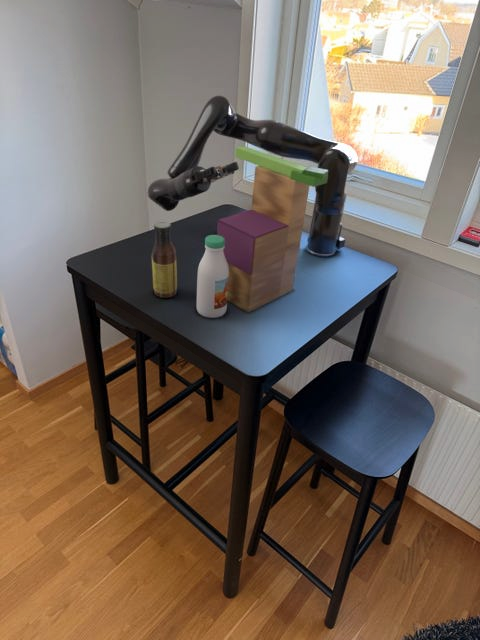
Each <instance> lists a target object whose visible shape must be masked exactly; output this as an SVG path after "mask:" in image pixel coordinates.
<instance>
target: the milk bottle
mask: <svg viewBox="0 0 480 640" xmlns="http://www.w3.org/2000/svg"><path fill="white" fill-rule="evenodd" d="M224 245H225V239H224V238H223V237H222V236H219V235H217V234H210V235H207V236H206V237H205V238H204V248H205V251H204V253H203V255H202V257H201V259H200V262H199V264H198V267H197V277H196V311H197V313H198V314H199V315H200V316H203V317H205V318H208V319H209V318H210V319H216V318H219V317H222V316H224V315H225V314H226V312H227V309H228V300H227V298H228V284H229V267H228V263H227V261H226V258H225V256H224V252H223V249H224Z"/></svg>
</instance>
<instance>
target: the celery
mask: <svg viewBox="0 0 480 640" xmlns="http://www.w3.org/2000/svg"><path fill="white" fill-rule="evenodd" d="M234 155H235V156H234V157H235V158H237V159H239V160H243V161H245V162H247V163H251V164H253V165H256V166H261V167H264V168H267V169H270V170H273V171H275V172H278V173H281V174H284V175H287V176H289V177H290V179H293V180H296V181H299V182H302V183H304V184H307V185H310V186H309V187H312V188H315V186H318V185H321V184H325V183H327V180H328V170H325V169H320V168H318V167H314V166H310V165H308V166H306V165H302V164H299V163H296V162H294V161H291V160H287V159H284V158H281V157H279V156H276V155H272V154H269V153H266V152H264V151H260V150H257V149H254V148H251V147H249V146H238V147H235V154H234Z"/></svg>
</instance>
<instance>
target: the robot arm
mask: <svg viewBox="0 0 480 640" xmlns="http://www.w3.org/2000/svg"><path fill="white" fill-rule="evenodd" d="M213 132H215V134H217V135H220V136H223V137H226V138H231V139H235V140H239V141H241V142H245V143H247V144H249V145H251V146H254V147H256V148H259V149H261V150H263V151H266V152H267V153H271V154H273V155H274V156H277V157H280V158H281V157H282V158H286V159H294V160H302V161H308V162H311V163H313V164H316V165H317V168H320V169H325V170H328V180H327V183H325V184H321V185H318V186H315V187H314V191H315V198H314V202H313V203H314V204H313V208H312V216H311V221H310V225H309V226H310V227H309V232H308V237H307V241H306V242H307V244H306V247H305V249H306V251H307V252H308V253H309V254H311V255H313V256H315V257H322V258H327V257H332V256H334V255H335V254H336V252H337V251H338V250H340V249H342V248H344V247H345V244H346V239H345V238H343V237H342V236H341V235H342V229H343V224H342V221H343V215H344V209H345V205H346V200H347V192H346V191H345V190H346V184H347V178H348V175H349V174H351V173H352V172H353V171H354V170H355V168H356V167H357V165H358V155H357V153H356V151H355V150H354V149H353V148H352V147H351V146H350V145H347V144H345V143H341V142H338V141H332V140H328V139H324V138H321V137H317V136H315V135H314V134H310V133H309V132H306V131H304V130H301V129H299V128H296V127H293V126H291V125H288V124H286V123H284V122H281V121H278V120H276V119H275V120H274V119H251V118H249V117H246V116H243V115H242V114H239V113H238V112H236V110H235V109H234V107H233V105H232V104H231V102H230V100H229V99H228V98H227V97H225V96H224V95H220V94H219V95H214V96H212V97H210V98H209V99H208V101H206V103H205V104H204V105H203V108H202V110H201V112H200V114H199V117H198V118H197V120H196V122H195V125H194V126H193V128H192V130H191V132H190V134H189V137H188V138H187V140H186V142H185V144H184V146H183V147H182V148H181V150H180V151H179V153H178V155H177V156H176V157H175V158H174V160H173V162H172V163H171V165H170V166H169V167H168V169H167V171H166V173H167V176H168V177H169V178H159V179H156V180H154V181H152V182H151V183H150V184H149V185H148V186H147V190H146V194H147V197H148V198H149V200H151V201H152V202H153V203H155V204H156V205H157V206H158V207H160V208H161V209H162V210H164V211H166V212H171V211H174V210H175V209H176V208H177V207H178V205H179V202H181V201H184V200H186V199H188V198H193V197H195V196H198V195H200V194H203V193H205V192H208V191H209V189H210V187H211V185H212V184H213V183H216V181H218V180H221V179H224V178H226V177H227V176H230V175H234V174H235V172H236V171H238V170H240V167H239V164H238V162H237V161H233V162H231V163H229V164H226V165H224V166H222V165H218V166H209V167H208V168H204V167H203V166H200V165H199V164H200V161H201V159H202V156H203V154H204V150H205V147H206V144H207V142H208V140H209V138H210V136H211V135H212V133H213Z"/></svg>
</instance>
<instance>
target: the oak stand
mask: <svg viewBox="0 0 480 640" xmlns="http://www.w3.org/2000/svg"><path fill="white" fill-rule="evenodd" d="M310 187H311V186H310V185H307V184H304V183H302V182H299V181H296V180H293V179H290V177H289V176H287V175H284V174H281V173H278V172H275V171H273V170H270V169H267V168H264V167H261V166H259V165H256V166H255V167H254V177H253V187H252V197H251V209H252V210H254V211H256V212H259V213H261V214H263V215H266V216H268V217H270V218H272V219H275V220H277V221H279V222H282V223H284V224H286V225H288V226H287V227H285V228H282V229H279V230H276V231H274V232H271V233H268V234H266V235H263V236H260V237H257V238H255V242H254V252H253V262H252V272H251V275H249V274H248V273H246V272H244V271H242V270H240V269H238V268H237V267H235V266H233V265H231V264H229V263H228V267H229V284H228V298H227V302H230V303H231V304H233V305H235V306H236V307H238V308H240V309H241V310H242V311H245V312H246V313H250V312H251V313H252V312H253V311H255V310H257V309H259V308H260V307H262V306H264V305H266V304H268V303H270V302H273V301H274V300H276V299H278V298H281V297H283V296H284V295H286V294H289V293H290V292H292V291H293V289H294V283H295V278H296V272H297V265H298V260H299V259H298V258H299V254H300V253H299V252H300V248H301V241H302V235H303V230H304V229H303V228H304V223H305V216H306V210H307V204H308V199H309V192H310ZM251 209H250V210H251Z"/></svg>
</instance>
